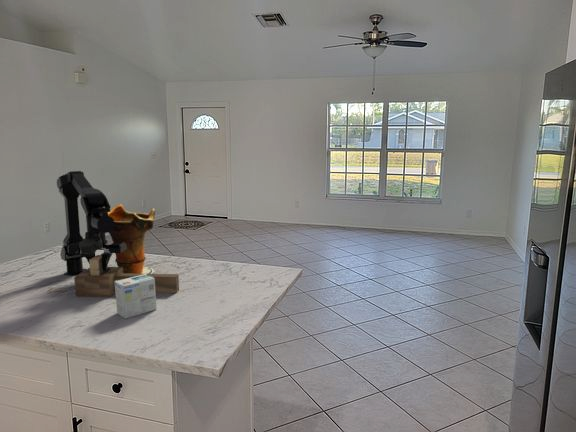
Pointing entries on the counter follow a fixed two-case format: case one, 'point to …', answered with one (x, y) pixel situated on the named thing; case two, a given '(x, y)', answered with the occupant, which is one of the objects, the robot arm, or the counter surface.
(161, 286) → the wooden block stand
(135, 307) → the light bulb box
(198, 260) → the counter surface
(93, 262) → the tan cardboard block
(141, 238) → the decorative vase
